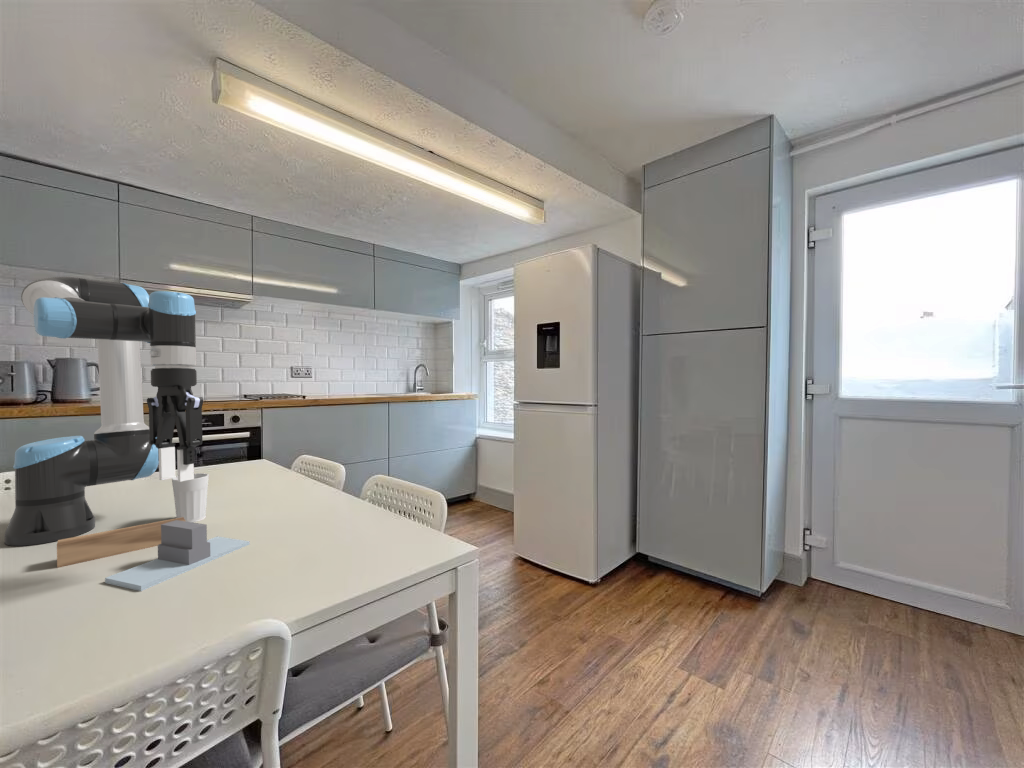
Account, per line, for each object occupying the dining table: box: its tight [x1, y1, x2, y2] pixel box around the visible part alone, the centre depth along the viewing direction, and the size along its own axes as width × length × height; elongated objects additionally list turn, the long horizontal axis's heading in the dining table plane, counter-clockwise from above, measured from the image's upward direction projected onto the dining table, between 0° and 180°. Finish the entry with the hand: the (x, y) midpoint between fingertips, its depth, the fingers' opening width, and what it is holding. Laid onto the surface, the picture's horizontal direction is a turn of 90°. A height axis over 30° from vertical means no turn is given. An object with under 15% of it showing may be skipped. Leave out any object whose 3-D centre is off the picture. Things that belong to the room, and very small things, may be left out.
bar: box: [56, 517, 185, 569], centre depth 96 cm, size 4×21×5 cm, turn 134°
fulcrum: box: [104, 520, 251, 592], centre depth 90 cm, size 10×22×8 cm, turn 162°
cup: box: [171, 472, 210, 523], centre depth 116 cm, size 8×8×12 cm
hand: (176, 479), depth 90 cm, fingers open, 5 cm apart
